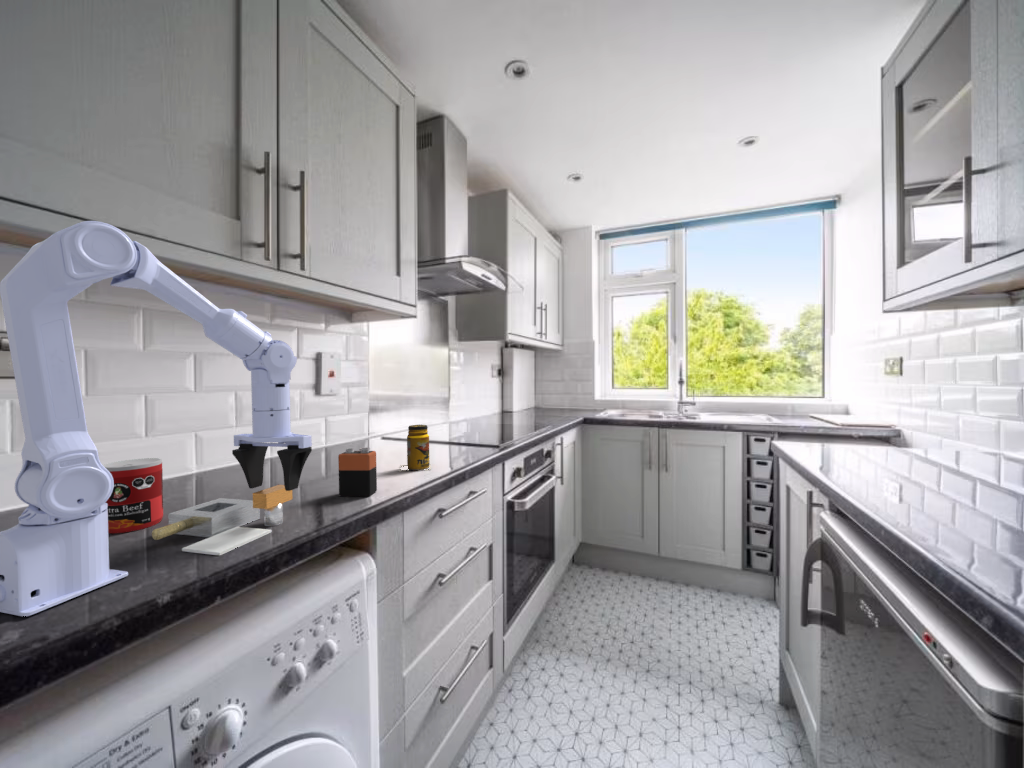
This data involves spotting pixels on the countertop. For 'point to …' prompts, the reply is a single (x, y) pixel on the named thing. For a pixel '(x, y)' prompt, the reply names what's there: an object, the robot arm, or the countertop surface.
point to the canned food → (135, 495)
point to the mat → (226, 540)
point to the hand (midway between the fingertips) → (273, 488)
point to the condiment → (417, 448)
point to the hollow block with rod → (209, 518)
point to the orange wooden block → (272, 503)
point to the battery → (357, 473)
